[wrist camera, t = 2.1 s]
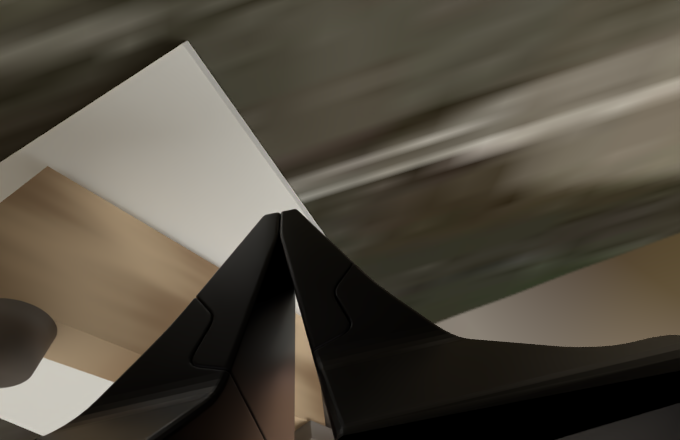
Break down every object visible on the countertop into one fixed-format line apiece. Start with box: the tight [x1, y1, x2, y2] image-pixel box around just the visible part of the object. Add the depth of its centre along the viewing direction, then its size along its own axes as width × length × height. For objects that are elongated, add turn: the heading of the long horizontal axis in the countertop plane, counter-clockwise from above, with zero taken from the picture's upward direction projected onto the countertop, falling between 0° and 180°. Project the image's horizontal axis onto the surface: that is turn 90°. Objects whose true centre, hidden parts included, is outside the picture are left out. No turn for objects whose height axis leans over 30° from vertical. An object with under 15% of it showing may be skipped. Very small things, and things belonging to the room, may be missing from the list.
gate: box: [0, 166, 334, 440], centre depth 13 cm, size 14×2×6 cm, turn 42°
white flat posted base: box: [0, 41, 331, 436], centre depth 14 cm, size 19×17×7 cm
